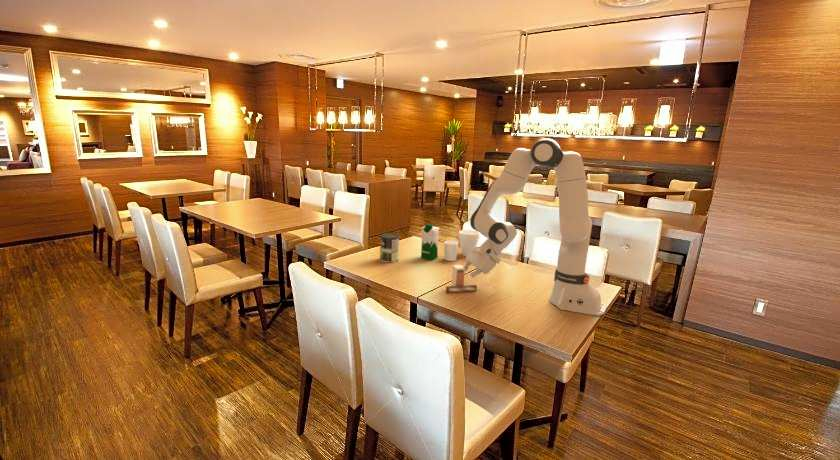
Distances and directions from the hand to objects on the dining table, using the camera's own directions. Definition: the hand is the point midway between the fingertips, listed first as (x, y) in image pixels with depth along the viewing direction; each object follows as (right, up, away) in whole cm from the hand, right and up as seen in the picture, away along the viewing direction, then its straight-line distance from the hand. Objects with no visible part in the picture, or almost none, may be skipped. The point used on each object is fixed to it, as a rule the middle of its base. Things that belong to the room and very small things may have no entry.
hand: (467, 273), depth 177 cm
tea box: (-4, -7, +1) cm, 8 cm away
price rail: (-3, -8, -4) cm, 9 cm away
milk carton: (-17, +4, +44) cm, 47 cm away
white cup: (-5, +3, +42) cm, 43 cm away
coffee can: (-39, +3, +37) cm, 54 cm away
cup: (+7, +5, +53) cm, 53 cm away
